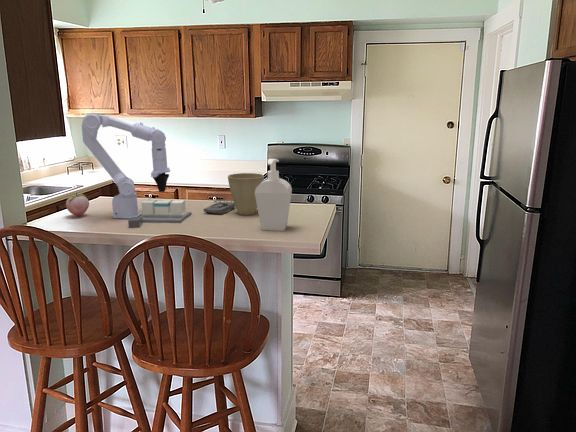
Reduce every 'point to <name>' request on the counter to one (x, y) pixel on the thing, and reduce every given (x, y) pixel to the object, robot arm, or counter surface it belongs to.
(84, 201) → the decorative fruit
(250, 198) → the plant pot
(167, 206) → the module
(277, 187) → the soap bottle
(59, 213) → the counter surface
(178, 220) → the mounting plate
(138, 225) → the box
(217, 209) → the graphics card
